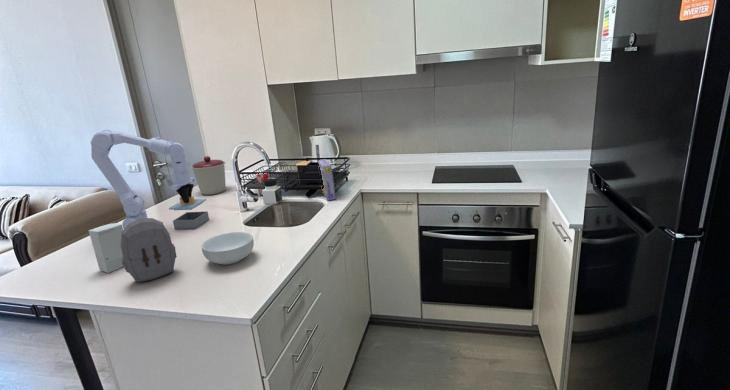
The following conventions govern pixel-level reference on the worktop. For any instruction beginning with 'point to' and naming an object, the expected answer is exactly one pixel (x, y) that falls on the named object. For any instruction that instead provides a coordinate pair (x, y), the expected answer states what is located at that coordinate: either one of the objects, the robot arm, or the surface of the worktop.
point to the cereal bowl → (228, 247)
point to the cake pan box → (327, 179)
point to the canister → (210, 176)
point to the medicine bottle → (271, 192)
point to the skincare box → (107, 246)
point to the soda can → (262, 179)
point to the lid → (187, 204)
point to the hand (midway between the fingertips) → (187, 201)
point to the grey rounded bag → (147, 249)
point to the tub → (191, 220)
